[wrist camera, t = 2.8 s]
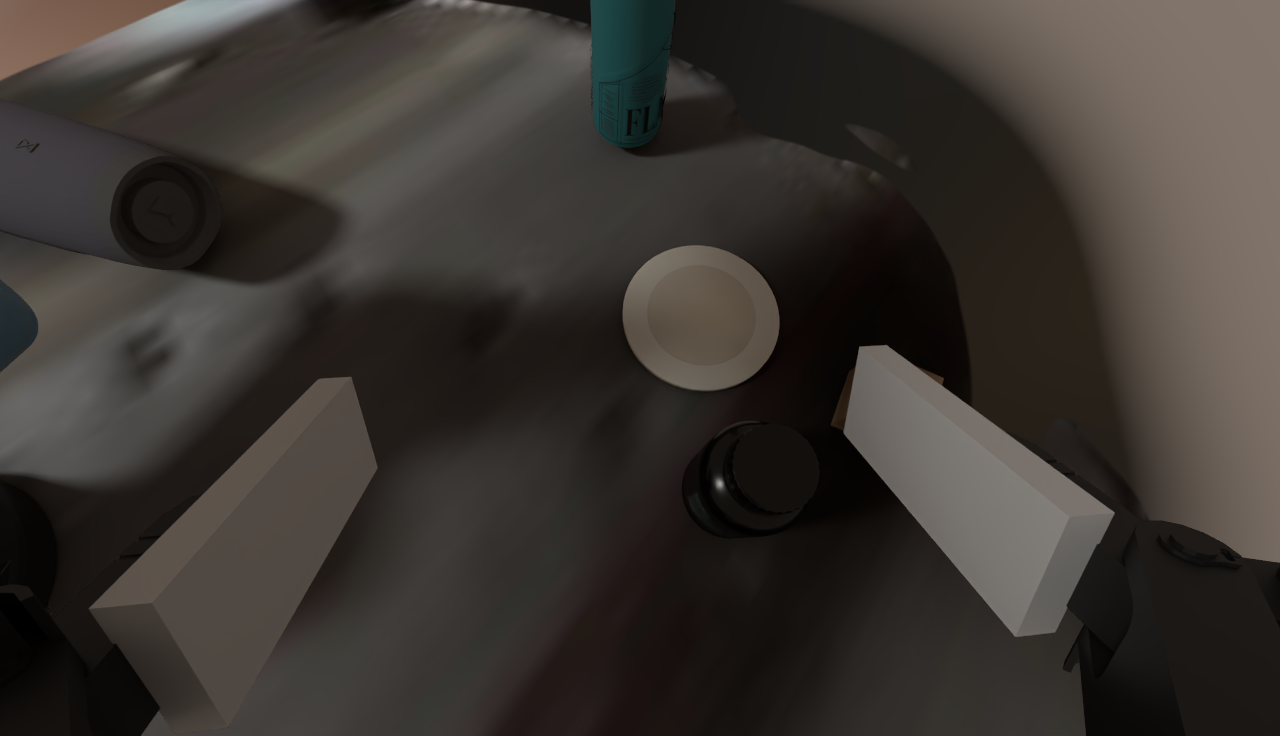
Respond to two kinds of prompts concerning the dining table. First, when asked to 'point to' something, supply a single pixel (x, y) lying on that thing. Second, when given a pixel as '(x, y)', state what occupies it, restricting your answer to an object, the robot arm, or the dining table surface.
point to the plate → (700, 318)
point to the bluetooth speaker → (101, 192)
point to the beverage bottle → (629, 67)
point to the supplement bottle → (750, 480)
